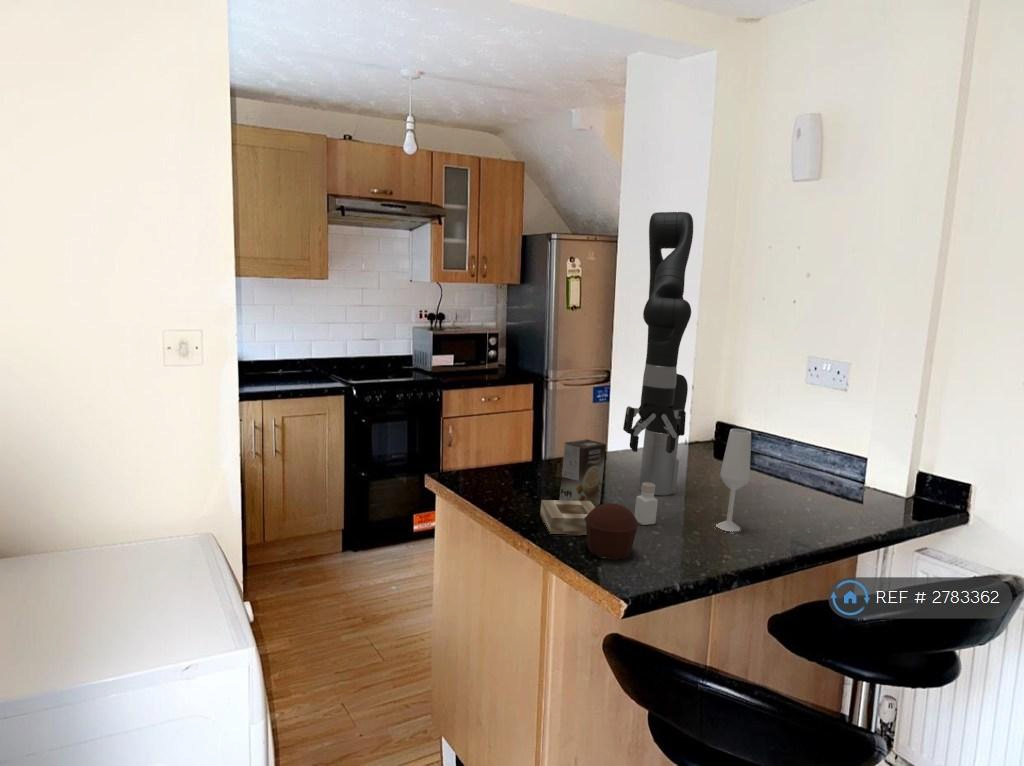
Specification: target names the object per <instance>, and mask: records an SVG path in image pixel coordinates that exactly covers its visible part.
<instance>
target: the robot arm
mask: <svg viewBox="0 0 1024 766" xmlns="http://www.w3.org/2000/svg"><path fill="white" fill-rule="evenodd" d="M648 225H649V226H648V243H649V244H648V247H649V248H648V249H649V253H648V254H649V289H648V299H647V301H646V303H645V305H644V308H643V312H642V316H643V317H642V318H643V320H644V323H645V324H646V325H647V345H646V346H647V347H646V358H645V365H644V371H643V375H642V376H643V378H642V386H641V396H640V405H639V407H637V408H636V407H632V406H630V405H629V406H627V407H626V410H625V415H624V421H623V428H622V430H623V431H624V432H626V434H629V436H630V438H629V449H631V452H633V453H635V452H636V453H637V452H638V449H639V435H640V433H641V432H642V431H644V437H643V438H644V439H643V447H642V455H641V456H642V457H641V465H640V473H639V476H640V477H639V480H638V481H639V484H638V489H639V490H640V491H641V486H642V483H645V482H647V483H653V484H655V493H654V496H670V495H676V492H677V491H676V489H677V484H678V483H677V482H678V481H677V480H678V474H679V463H680V460H679V459H678V456H677V455H678V447H679V438H680V436H684V435H685V433H686V431H685V430H686V416H687V412H686V411H685V410H686V404H687V398H688V392H689V391H688V389H689V388H688V387H689V386H688V381H687V378H686V377H685V376H684V375H683V374H680V373H679V374H678V373H677V372H678V371H677V368H678V367H677V366H678V358H679V350H680V345H681V342H682V340H683V339H682V338H683V337H684V333H685V331H686V328H687V327H688V324H689V322H690V319H691V316H692V308H691V305H690V303H689V301H688V300H686V299H684V293H685V280H686V279H685V277H686V270H687V265H688V261H689V257H690V253H691V248H692V244H693V239H694V237H693V236H694V219H693V216H692V214H691V213H690V212H686V211H665V212H661V211H659V212H653V214H651V216H650V219H649V224H648ZM662 249H665V250H666V249H672V251H671V252H670V253H669V254H667V256H666V257H665V258H664V257H663V255H662ZM637 414H638V415H639V417H640V418H639V419H638V420H637V421H636V422H635V425H634V426H633V423H634V418H636V416H637Z"/></svg>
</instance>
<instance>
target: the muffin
mask: <svg viewBox="0 0 1024 766" xmlns="http://www.w3.org/2000/svg"><path fill="white" fill-rule="evenodd" d="M584 520H585V522H586V529H587V536H586V542H587V549H588V551H589V550H590V551H589V552H591V553H593V554H596V555H598V556H600V557H606V558H611V559H617V558H626V559H627V557H628V556H629V555H628V554H630V555H631V552H632V549H633V546H634V541H635V539H636V533H637V531H638V530H637V529H638V528H639V527H640V523H638V522H637V520H636V518H635V517H634V514H633V512H632V510H630V509H629V508H627V507H625V506H624V505H622V504H618V503H611V502H610V503H603V504H600V505H597V506H595V508H594V509H593V510H592V511H591V512H590V513H589V514H588V515H587V516H586V517H585V518H584ZM591 553H590V554H591ZM593 554H592V555H593ZM596 555H595V556H596ZM627 555H628V556H627ZM598 556H597V557H598ZM600 557H599V558H600ZM611 559H610V560H611Z"/></svg>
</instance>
